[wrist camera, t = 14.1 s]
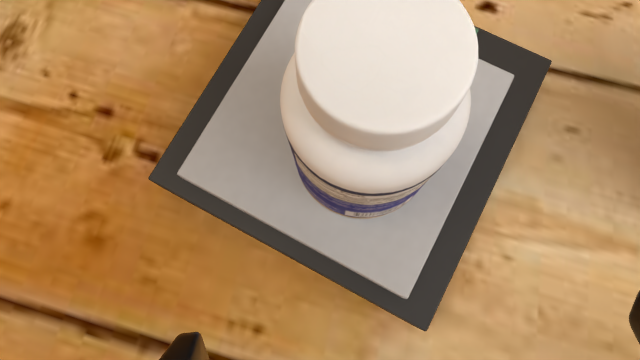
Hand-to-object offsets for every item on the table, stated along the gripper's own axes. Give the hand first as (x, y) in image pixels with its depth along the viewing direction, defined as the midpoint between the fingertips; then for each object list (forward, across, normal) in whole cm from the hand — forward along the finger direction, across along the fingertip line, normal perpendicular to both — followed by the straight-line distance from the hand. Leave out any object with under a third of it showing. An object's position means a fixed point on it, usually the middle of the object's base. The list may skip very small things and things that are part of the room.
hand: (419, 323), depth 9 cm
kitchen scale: (+13, 0, +2) cm, 13 cm away
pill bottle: (+10, 0, +2) cm, 10 cm away
